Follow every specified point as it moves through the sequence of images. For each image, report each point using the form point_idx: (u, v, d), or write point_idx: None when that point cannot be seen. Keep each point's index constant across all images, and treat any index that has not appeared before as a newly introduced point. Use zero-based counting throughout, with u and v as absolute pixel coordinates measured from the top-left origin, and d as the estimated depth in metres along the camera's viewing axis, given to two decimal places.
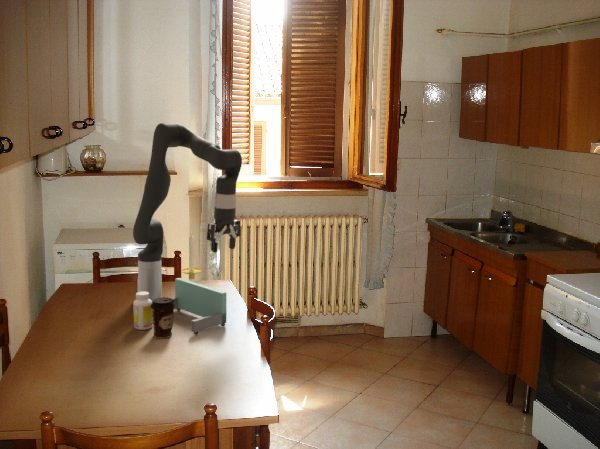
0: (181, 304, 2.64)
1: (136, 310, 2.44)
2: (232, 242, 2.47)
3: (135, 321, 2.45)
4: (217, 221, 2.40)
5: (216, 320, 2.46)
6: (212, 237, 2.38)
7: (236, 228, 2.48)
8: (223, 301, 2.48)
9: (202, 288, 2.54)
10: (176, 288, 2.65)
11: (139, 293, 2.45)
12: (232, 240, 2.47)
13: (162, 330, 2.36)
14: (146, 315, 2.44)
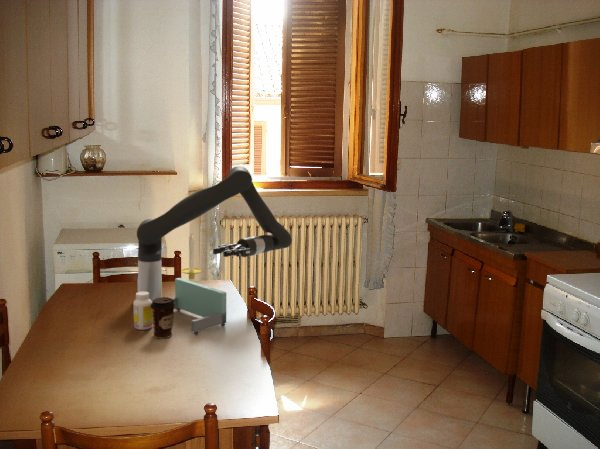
0: (181, 304, 2.64)
1: (136, 310, 2.44)
2: (219, 252, 2.65)
3: (135, 321, 2.45)
4: None
5: (216, 320, 2.46)
6: None
7: (224, 248, 2.70)
8: (223, 301, 2.48)
9: (202, 288, 2.54)
10: (176, 288, 2.65)
11: (139, 293, 2.45)
12: (220, 251, 2.65)
13: (162, 330, 2.36)
14: (146, 315, 2.44)
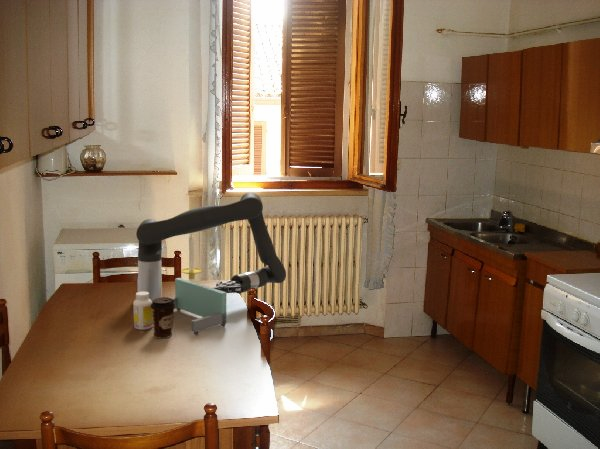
0: (181, 304, 2.64)
1: (136, 310, 2.44)
2: None
3: (135, 321, 2.45)
4: (242, 287, 2.68)
5: (216, 320, 2.46)
6: None
7: None
8: (223, 301, 2.48)
9: (202, 288, 2.54)
10: (176, 288, 2.65)
11: (139, 293, 2.45)
12: None
13: (162, 330, 2.36)
14: (146, 315, 2.44)
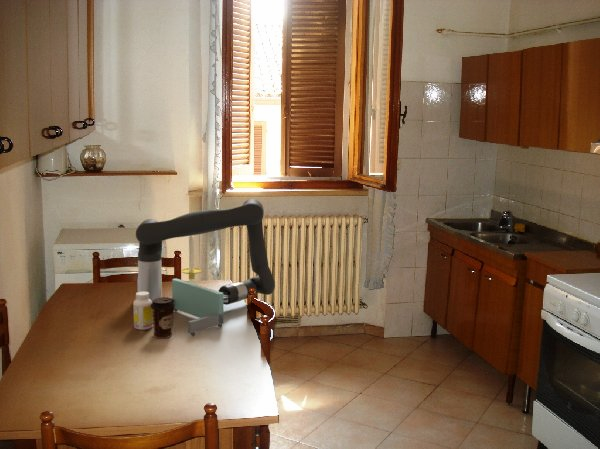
0: (178, 305, 2.63)
1: (136, 310, 2.44)
2: None
3: (135, 321, 2.45)
4: (229, 298, 2.64)
5: (213, 321, 2.45)
6: None
7: None
8: (220, 302, 2.47)
9: (199, 289, 2.53)
10: (173, 289, 2.64)
11: (139, 293, 2.45)
12: None
13: (162, 330, 2.36)
14: (146, 315, 2.44)
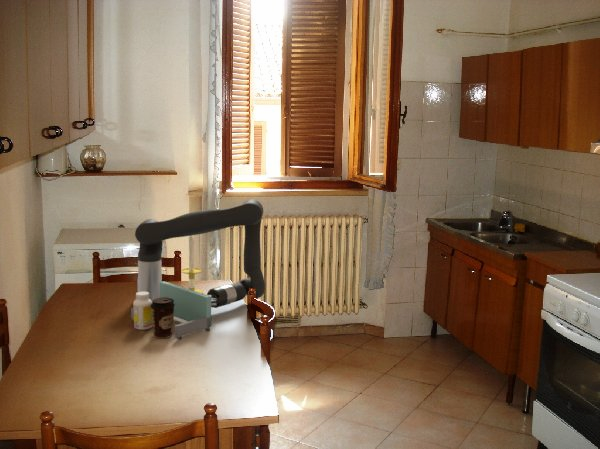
0: None
1: (136, 310, 2.44)
2: None
3: (135, 321, 2.45)
4: (218, 301, 2.60)
5: (200, 325, 2.41)
6: None
7: None
8: (208, 305, 2.42)
9: (187, 292, 2.49)
10: (161, 292, 2.60)
11: (139, 293, 2.45)
12: None
13: (162, 330, 2.36)
14: (146, 315, 2.44)
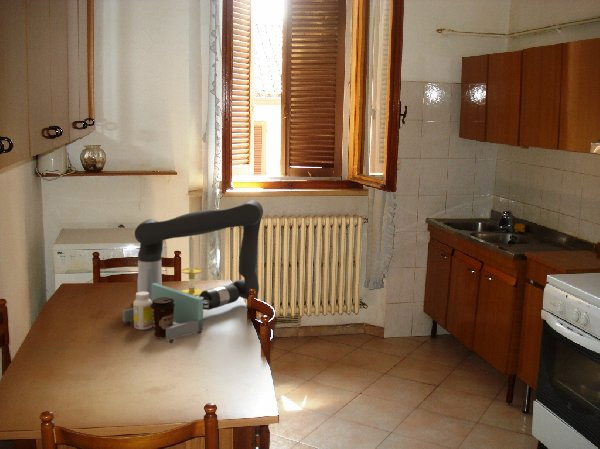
0: None
1: (136, 310, 2.44)
2: None
3: (135, 321, 2.45)
4: (210, 303, 2.57)
5: (192, 327, 2.38)
6: None
7: None
8: (199, 307, 2.40)
9: (178, 294, 2.46)
10: (153, 294, 2.57)
11: (139, 293, 2.45)
12: None
13: (162, 330, 2.36)
14: (146, 315, 2.44)
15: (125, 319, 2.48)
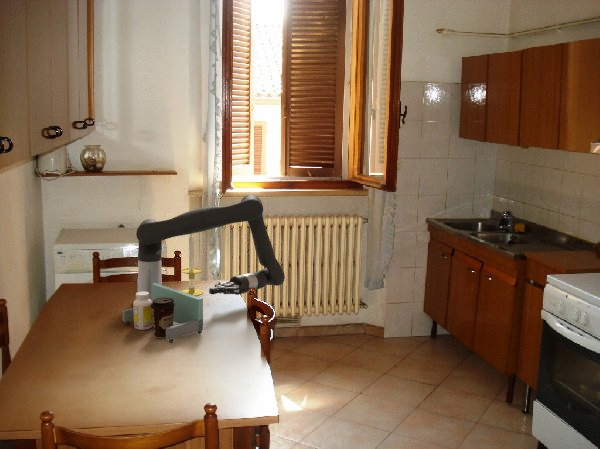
0: None
1: (136, 310, 2.44)
2: None
3: (135, 321, 2.45)
4: (240, 288, 2.68)
5: (192, 327, 2.38)
6: None
7: None
8: (199, 307, 2.40)
9: (178, 294, 2.46)
10: (152, 294, 2.57)
11: (139, 293, 2.45)
12: None
13: (162, 330, 2.36)
14: (146, 315, 2.44)
15: (125, 319, 2.48)
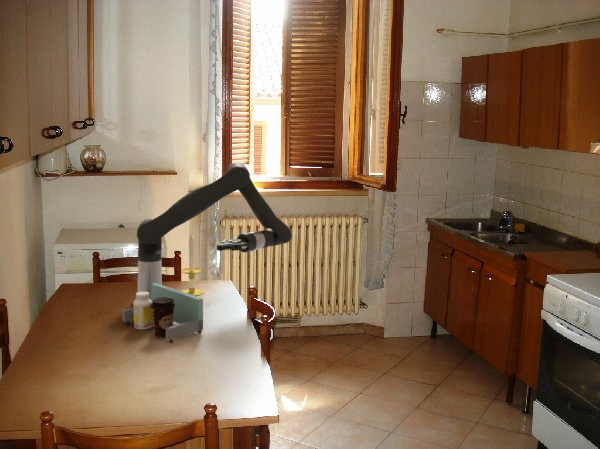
0: None
1: (136, 310, 2.44)
2: None
3: (135, 321, 2.45)
4: (248, 245, 2.67)
5: (192, 327, 2.38)
6: None
7: None
8: (199, 307, 2.40)
9: (178, 294, 2.46)
10: (152, 294, 2.57)
11: (139, 293, 2.45)
12: None
13: (162, 330, 2.36)
14: (146, 315, 2.44)
15: (125, 319, 2.48)
